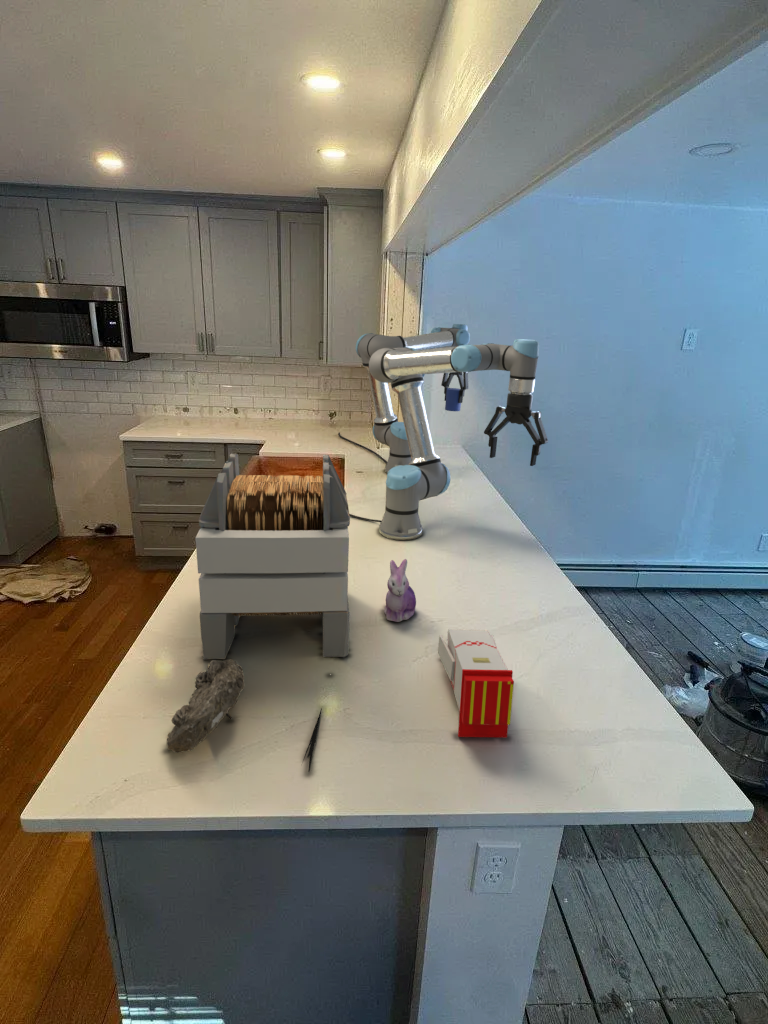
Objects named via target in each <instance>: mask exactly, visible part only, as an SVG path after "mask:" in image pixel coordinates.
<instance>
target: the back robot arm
mask: <svg viewBox="0 0 768 1024" xmlns="http://www.w3.org/2000/svg"><path fill="white" fill-rule="evenodd" d="M470 341H471V334H470V332H469V330H468V325H467V324H464V323H463V324H462V323H453V324H452V327H440V326H439V327H433V328H432V329H431V331H430V332H429V333H422V334H417V335H411V336H410V335H409V336H405V337H404V336H402V335H384V334H377V333H372V332H371V333H363V334H362V335H360V336H359V338H358V339H357V341H356V343H355V352H356V354H357V356H358V357H359V358H360V360H361V363H362V367H363V368H365V369H366V373H367V377H368V383H369V388H370V393H371V397H372V402H373V403H372V404H373V407H374V412H375V417H374V419H373V426H372V435H373V438H374V439H375V440H376V441H377V442H378V443H379V444H381V445H385V446H387V447H389V450H388V451H389V454H388V459H387V460H386V459H385V458H383V457H382V455H380V454H379V453H377V452H376V451H374V450H373V449H371V448H368V447H366V446H364V445H362V444H359V443H358V442H355V441H353V440H351V439H349V438H347V437H344V436H342V435H341V432H340V431H339V432H338V433H337V435H338V437H339V438H341V439H342V440H344V441H347V442H349V443H351V444H354V445H356V446H358V447H360V448H363V449H364V450H367V451H368V452H371V453H372V454H374V455H375V456H377V457H378V458H379V459H381V461H383V462H384V463H385V464H386V465H384V473H386V474H387V473H388V471H389V470H390V469H391V468H393V467H396V466H400V465H403V466H404V465H409V463H410V461H411V454H410V449H409V445H408V440H407V436H406V431H405V426H404V422H403V421H399V419H398V415H397V414H395V413H394V409H393V404H392V398H391V392H390V387H389V383H384V382H380V381H378V380H376V379H375V378H374V377H373V376H372V375H371V373H370V370H369V361H370V358H371V356H372V355H373V354H374V353H375V352H376V351H377V350H379V349H383V348H404V347H408V348H415V349H417V350H426V349H435V348H445V347H455V346H461V345H468V344H469V343H470ZM454 376H456V377H457V380H458V384H459V389H460V390H459V399H458V403H461V404H463V400H464V397H465V391H466V390H469V372H452V373H443V375H442V380H441V385H440V386H442V387H443V388H444V389H443V394H444V400H443V401H445V402H446V392H447V388H450V385H451V383H452V380H453V378H454Z"/></svg>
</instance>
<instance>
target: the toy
mask: <svg viewBox="0 0 768 1024" xmlns="http://www.w3.org/2000/svg"><path fill="white" fill-rule="evenodd" d="M446 640H447V643H446V641H445V639H444V636H443V635H442V634H439V637H438V646H437V656H438V657H439V659H440V661H441V663H442V666H443V668H444V670H445V672H446V674H447V677H448V679H449V681H450V684H451V687H452V690H453V693H454V697H455V701H456V705H457V708H458V711H459V714H458V715H459V716H458V730H457V731H458V732H457V737H458V738H508V731H509V726H510V725H511V717H512V707H513V697H514V696H513V695H514V684H515V680H514V679H513V673H514V671H513V670H512V669H508V667H507V665H506V662H505V661H504V659H503V658H502V655H501V653H500V651H499V649H498V647H497V643H496V639H495V637H494V635H493V634H491V632H490V631H489V629H467V628H466V629H465V628H463V629H461V628H460V629H459V628H448V630H447V639H446Z"/></svg>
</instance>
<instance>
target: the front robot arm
mask: <svg viewBox="0 0 768 1024" xmlns="http://www.w3.org/2000/svg"><path fill="white" fill-rule="evenodd" d="M539 353H540V343H539V341H538V340H535V339H526V338H525V339H523V338H518V339H517V338H515V340H514V341H513V343H512V344H511V345H508V344H499V343H493V342H492V343H491V342H488V343H481V344H469V343H468V344H467V345H461V346H455V347H445V348H435V349H426V350H417V349H415V348H408V347H404V348H383V349H379V350H377V351H376V352H375V353H374V354H373V355H372V356H371V358H370V361H369V370H370V373H371V375H372V376H373V377H374V378H375V379H376V380H378V381H380V382H384V383H388V384H389V383H390V386H391V390H392V391H393V392H395V394H397V400H398V404H399V408H400V412H401V417H402V422H404V426H405V431H406V436H407V440H408V445H409V449H410V454H411V461H410V463H409V465H404V466H403V465H400V466H396V467H393V468H391V469H390V470H389V471H388V473H386V479H385V504H384V505H385V507H384V508H385V509H384V513H383V515H382V519H381V520H380V519H373V518H366V517H362V516H358V515H355V514H353V513H349V516H350V517H352V518H354V519H360V520H361V521H362V520H363V521H368V522H375V523H379V525H378V533H379V534H380V535H381V536H382V537H385V538H387V539H389V540H395V541H410V540H415V539H418V538H420V537H421V536H422V535H423V525H422V524H421V518H420V515H419V507H420V506H419V505H420V501H423V500H426V499H430V498H434V497H438V496H439V495H441V494H444V493H445V492H446V491H447V490H448V488H449V487H450V484H451V479H452V478H451V472H450V469H449V468H448V467H447V466H446V464H444V463H443V462H442V460H441V457H440V456H439V455H437V454H436V453H435V448H434V444H433V443H434V442H433V439H432V434H431V430H430V425H429V421H428V416H427V411H426V405H425V401H424V398H423V393H422V386H423V385H424V384H425V383H424V377H425V375H433V374H435V375H436V374H444V373H448V374H449V373H452V372H462V373H463V372H468V373H471V372H479V371H481V372H483V371H495V370H496V371H504V372H509V382H508V387H507V390H508V393H507V397H506V407H504V406H503V405H499V406H496V408H495V411H494V414H493V415H492V417H491V419H490V421H489V422H488V424H487V425H486V427H485V429H484V431H483V434H484V435H487V436H488V444H487V445H488V447H489V448H490V450H489V458H490V459H493V458H496V456H497V455H496V454H497V446H498V436H497V434H498V433H499V432H501V431H502V430H503V429H504V428H505V427H506V426H507V425H508V424H509V423H511V424H517V425H522V426H523V427H524V428H525V429H526V432H527V433H528V435H529V436H530V438H531V439H532V441H533V443H534V444H532V446H531V447H532V448H531V455H530V462H529V466H530V467H533V466H536V464H537V456H540V454H541V449H542V445H546V444H548V443H549V439H548V436H547V433H546V429H545V427H544V424H543V420H542V411H540V410H537V411H533V410H532V406H533V400H534V399H533V398H534V395H533V393H534V391H535V384H536V375H537V367H538V361H539V356H540V355H539ZM503 414H505V417H504V419H503V420H502V421H501V422H500V423H499V424H498V425H497V426H496V424H497V423H498V422H499V420H500V418H501V416H502V415H503ZM530 418H532V419H533V420H534V424H535V427H536V429H535V428H534V426H533V423H532V421H531V419H530ZM495 426H496V427H495ZM494 427H495V428H494ZM536 430H537V431H536Z"/></svg>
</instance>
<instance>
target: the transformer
mask: <svg viewBox="0 0 768 1024" xmlns="http://www.w3.org/2000/svg"><path fill="white" fill-rule="evenodd" d="M339 476H340V475H339V474H338V472H337V470H336V468H335V465H334V464H333V462H332V459H331V457H330V455H329V454H322V475H316V476H315V475H305V476H304V477H302V476H301V475H289V474H288V475H286V474H285V475H284V474H283V475H280V474H279V475H270V474H268V475H266V474H257V475H256V474H253V475H252V474H248V475H246V474H240V464H239V454H238V453H230V454H229V456H228V458H227V460H226V461H225V462H224V463H223V466H222V469H221V471H220V472H219V473H218V474H217V477H216V479H215V481H214V483H213V485H212V488H211V490H210V492H209V494H208V497H207V499H206V501H205V503H204V505H203V508H202V510H201V512H200V515H199V518H198V526H199V527H200V528H199V530H198V532H197V534H196V536H195V549H196V550H195V551H196V552H195V553H196V564H197V565H196V567H197V574H200V575H199V577H198V591H199V602H200V605H199V606H200V611H199V624H200V639H201V645H202V656H201V657H202V660H204V661H205V660H206V661H210V660H226V659H227V658H226V657H227V655H228V653H229V651H230V648H231V645H232V643H233V641H234V638H235V636H236V626H238V624H239V621H240V617H243V616H244V617H245V616H246V617H247V616H290V615H292V616H293V615H294V616H296V615H298V616H299V615H302V616H303V615H309V616H311V615H322V657H323V658H325V657H326V658H328V657H329V658H330V657H331V658H333V657H335V658H337V657H340V658H345V657H347V656H348V655H349V653H350V652H349V650H350V649H349V647H350V603H349V595H348V591H349V552H350V551H349V547H350V535H349V534H350V533H349V528H348V527H350V523H351V516H349V514H350V509H349V502H348V496H347V492H346V489H345V487H344V485H343V483H342V481H341V478H340V477H339Z"/></svg>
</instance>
